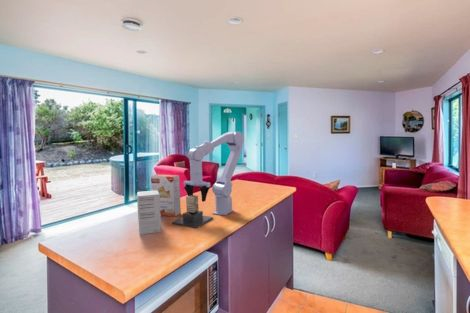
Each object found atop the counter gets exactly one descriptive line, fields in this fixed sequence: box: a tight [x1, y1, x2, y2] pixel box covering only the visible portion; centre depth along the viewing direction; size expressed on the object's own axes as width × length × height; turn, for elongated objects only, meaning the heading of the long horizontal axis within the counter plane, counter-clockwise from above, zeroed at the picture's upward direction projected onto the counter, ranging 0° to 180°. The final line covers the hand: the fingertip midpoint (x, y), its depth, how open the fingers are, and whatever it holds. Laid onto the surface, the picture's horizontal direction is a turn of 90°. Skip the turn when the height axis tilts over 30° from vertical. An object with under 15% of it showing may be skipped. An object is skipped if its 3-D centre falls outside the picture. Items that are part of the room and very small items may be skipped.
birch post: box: [185, 194, 199, 213], centre depth 127 cm, size 4×4×7 cm
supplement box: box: [136, 190, 162, 236], centre depth 117 cm, size 10×9×17 cm
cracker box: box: [150, 174, 182, 217], centre depth 139 cm, size 14×6×21 cm, turn 69°
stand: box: [171, 210, 214, 229], centre depth 127 cm, size 14×14×5 cm
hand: (197, 200), depth 130 cm, fingers open, 7 cm apart
